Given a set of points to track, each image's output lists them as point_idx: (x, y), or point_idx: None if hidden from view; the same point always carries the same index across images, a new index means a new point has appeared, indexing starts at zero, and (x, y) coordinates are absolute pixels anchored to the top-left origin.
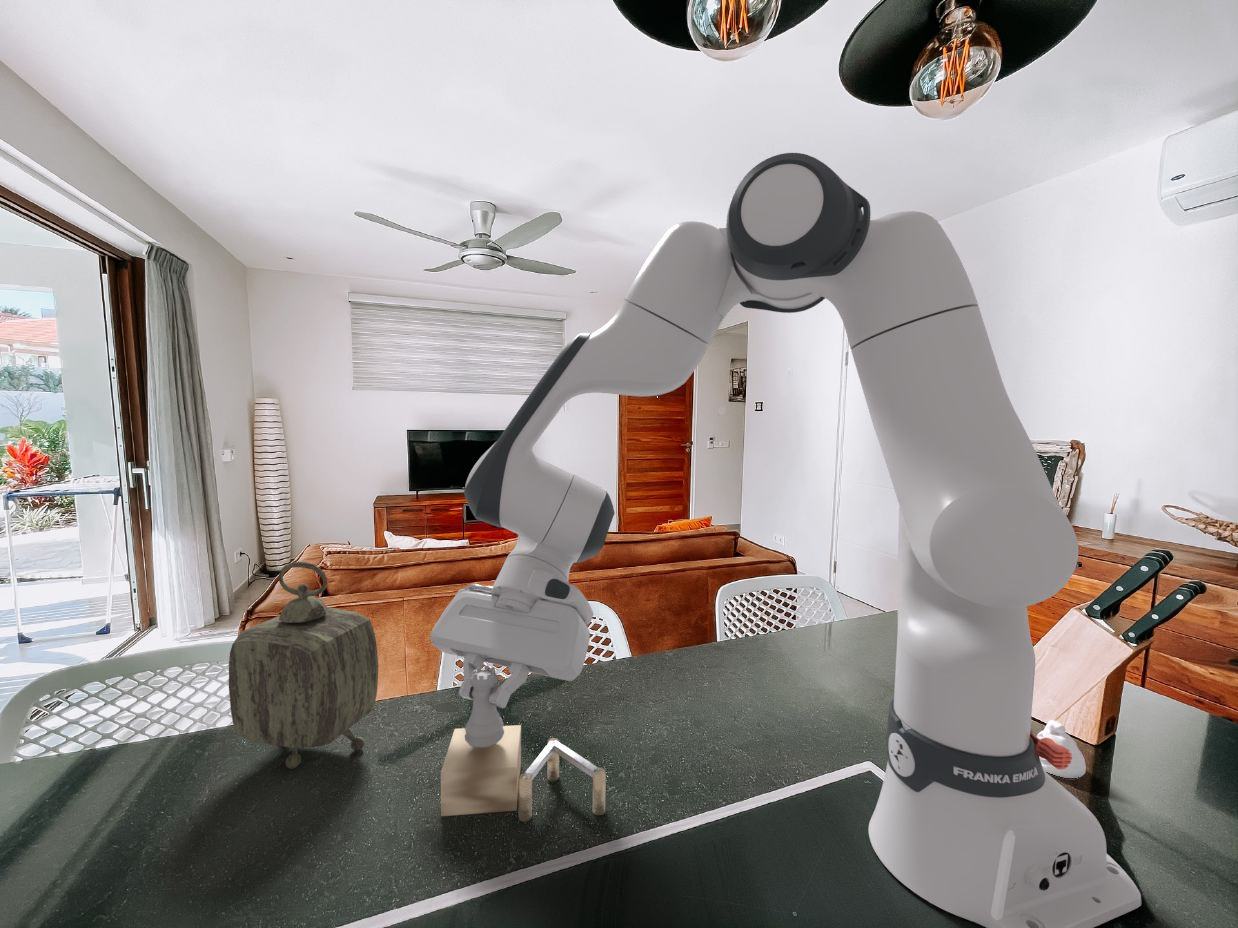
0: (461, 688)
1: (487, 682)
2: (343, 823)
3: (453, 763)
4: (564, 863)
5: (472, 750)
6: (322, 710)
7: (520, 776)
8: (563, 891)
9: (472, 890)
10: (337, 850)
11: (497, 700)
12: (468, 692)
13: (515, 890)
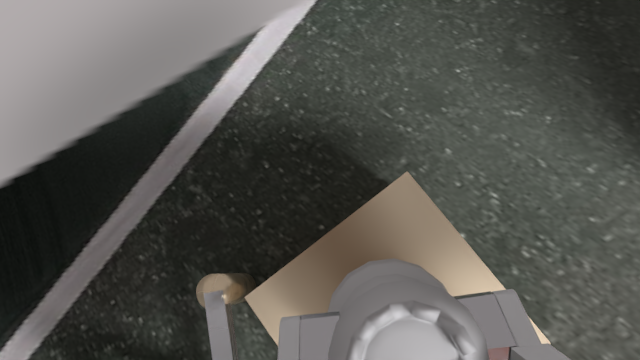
0: (511, 302)
1: (348, 326)
2: (556, 71)
3: (408, 215)
4: (108, 233)
5: None
6: None
7: (226, 287)
8: (81, 186)
9: (216, 107)
10: (495, 31)
11: (289, 318)
12: (458, 300)
13: (153, 145)
